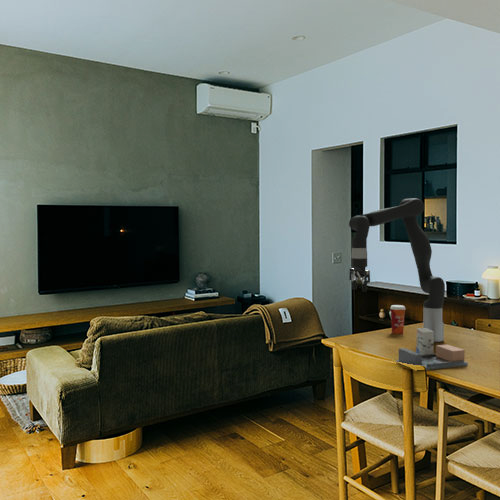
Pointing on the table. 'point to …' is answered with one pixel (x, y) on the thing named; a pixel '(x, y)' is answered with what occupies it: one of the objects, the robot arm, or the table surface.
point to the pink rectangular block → (449, 352)
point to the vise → (427, 360)
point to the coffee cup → (397, 318)
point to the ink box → (424, 341)
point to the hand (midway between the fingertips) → (359, 290)
